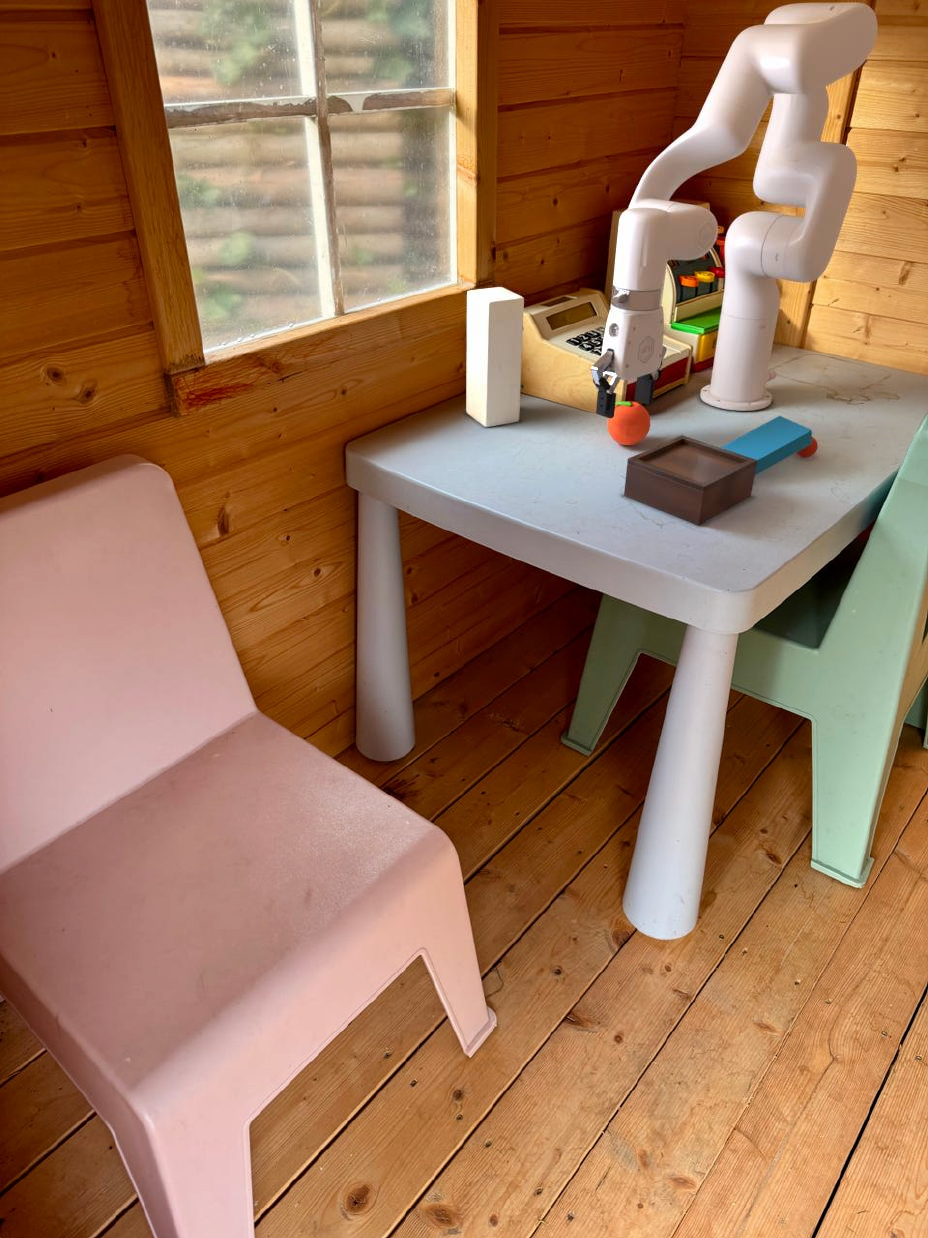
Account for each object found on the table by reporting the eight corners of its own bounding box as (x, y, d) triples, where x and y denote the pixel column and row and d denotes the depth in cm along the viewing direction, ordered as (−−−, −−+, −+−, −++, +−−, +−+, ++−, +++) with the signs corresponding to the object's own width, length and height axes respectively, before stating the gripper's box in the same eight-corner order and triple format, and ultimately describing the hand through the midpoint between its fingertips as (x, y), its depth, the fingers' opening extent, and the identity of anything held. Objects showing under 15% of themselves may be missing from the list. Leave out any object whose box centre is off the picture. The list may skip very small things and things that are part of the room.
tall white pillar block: (524, 421, 157) (528, 296, 146) (486, 428, 155) (487, 301, 143) (502, 406, 163) (504, 285, 152) (465, 413, 161) (465, 290, 149)
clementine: (596, 448, 147) (599, 406, 143) (602, 433, 153) (605, 392, 149) (645, 453, 145) (650, 411, 141) (650, 437, 151) (654, 396, 147)
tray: (677, 470, 140) (681, 434, 137) (750, 497, 132) (757, 459, 129) (623, 495, 132) (627, 458, 129) (698, 525, 124) (704, 486, 121)
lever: (739, 510, 138) (830, 458, 142) (736, 471, 134) (831, 419, 138) (709, 492, 143) (798, 443, 147) (706, 455, 139) (798, 405, 143)
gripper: (619, 312, 129) (607, 428, 138) (691, 294, 139) (675, 403, 148) (579, 302, 133) (570, 415, 143) (651, 285, 143) (639, 392, 153)
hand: (624, 409), depth 145 cm, fingers open, 9 cm apart
